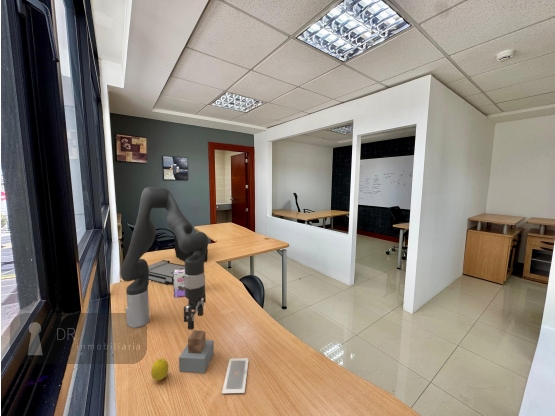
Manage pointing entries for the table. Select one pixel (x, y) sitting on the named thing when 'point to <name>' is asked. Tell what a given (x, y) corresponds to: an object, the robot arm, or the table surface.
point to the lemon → (159, 369)
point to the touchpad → (236, 376)
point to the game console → (163, 271)
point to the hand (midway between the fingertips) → (195, 321)
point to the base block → (196, 359)
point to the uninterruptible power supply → (183, 255)
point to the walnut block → (196, 341)
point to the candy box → (179, 283)
